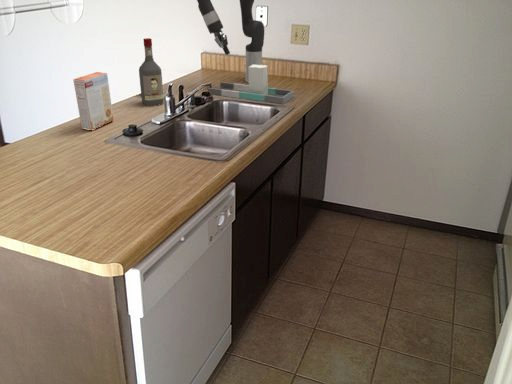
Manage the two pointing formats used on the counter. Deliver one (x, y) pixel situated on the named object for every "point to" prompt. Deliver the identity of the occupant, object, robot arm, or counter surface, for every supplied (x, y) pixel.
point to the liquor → (150, 78)
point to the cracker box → (93, 100)
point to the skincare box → (258, 79)
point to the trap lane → (226, 90)
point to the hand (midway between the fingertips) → (228, 54)
